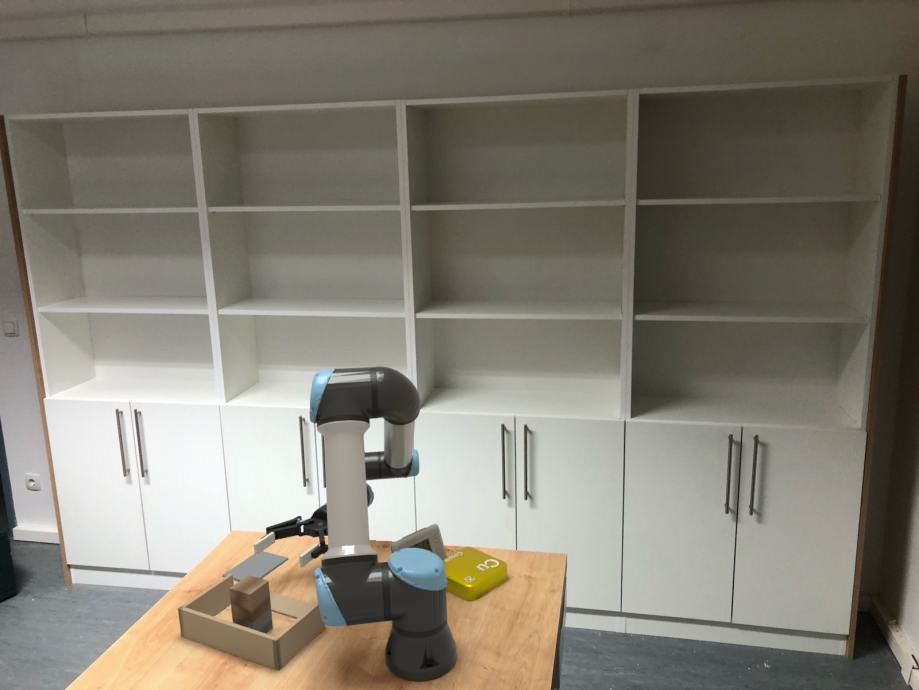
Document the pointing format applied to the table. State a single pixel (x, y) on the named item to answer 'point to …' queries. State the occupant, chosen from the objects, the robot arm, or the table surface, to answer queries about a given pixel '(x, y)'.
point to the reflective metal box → (251, 604)
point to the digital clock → (423, 541)
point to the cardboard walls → (244, 640)
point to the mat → (256, 566)
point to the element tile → (473, 573)
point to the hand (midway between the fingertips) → (277, 555)
